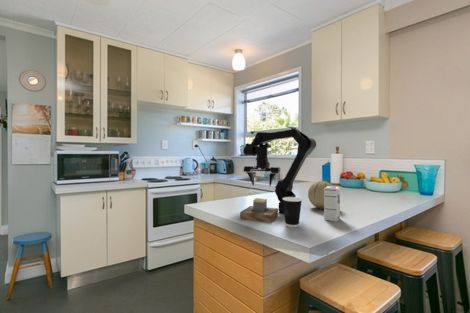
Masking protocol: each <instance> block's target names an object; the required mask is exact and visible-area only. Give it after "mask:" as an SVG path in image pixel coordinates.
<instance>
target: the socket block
mask: <svg viewBox="0 0 470 313" xmlns="http://www.w3.org/2000/svg"><path fill="white" fill-rule="evenodd" d="M239 213H240V214H239V215H240V217H239V219H240V220H248V221H257V222H266V223H272V222H273V221H274V219H276V218H277V217H278V215H279V207H277V208H275V207H268V206H267V212H265V213H263V212H254V211H253V205H249V206H248V207H246V208H244V209H243V210H241V211H240V212H239Z"/></svg>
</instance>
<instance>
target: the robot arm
mask: <svg viewBox="0 0 470 313" xmlns="http://www.w3.org/2000/svg"><path fill="white" fill-rule="evenodd" d="M290 138H291V139H292V138H293V140H294V141H295V142H296V143H297V144H298V146H297V154H296V156H295V157H294V159H293V161H292V163H291V165H290V167H289V168H288V171H287V172H286V174H285V176H284V179H279V180H278V181H277V183H276V185H275V186H274V188H275V189H274V193H275V195H276V197H277V200H278V201H279V202H278V214H284V215H285V213H284V203H283V198H285V197H296V196H297V195H296V194H295V193H294V192H293V187H294V185H293V184H294V181H295V179H296V178H297V175H298V173H299V172H300V170H301V168H302V166H303V164H304V163H305V160H306V159H307V158H308V157H309V155H311V154H312V152H313V151H314V150H315V148H317V142H316V140H315V139H314V138H313V137H309V136H308V135H306V134H305V133H303V132H301V131H300V130H299V129H297V128H291V129H286V130H281V131H274V132H263V131H261V132H256V134H255V137H254V139H253V140H252V141H251V143H245V146H244V147H243V150H242V151H243V152H242V153H243V155H244V156H245V157H255V156H256V158H255V160H256V165H255V166H253V165H247V166H244V167H243V172H244V173H245V174H246V175H248V178H249V179H250V182H251V185H252V186H254V185H255V177H254V176H255V172H270V173H269V187H271V186H272V184H273V182H274V178H275V176H276V175H278V174H279V173H281V168H280V166H271V167H270V165H271V163H270V162H269V158H268V148H272V146H271V145H270V143H271V142H273V141H276V140H284V139H290ZM296 198H297V197H296Z"/></svg>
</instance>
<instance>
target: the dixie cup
mask: <svg viewBox="0 0 470 313" xmlns="http://www.w3.org/2000/svg"><path fill="white" fill-rule="evenodd" d="M302 201H303V198H300V197H285V198H283V203H284V213H285V214H284V213H283V214H284V221H285V222H284V223H285V225H286V226H287V227H288V228H297V227H299V224H300V217H301V208H302Z"/></svg>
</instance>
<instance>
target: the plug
mask: <svg viewBox="0 0 470 313" xmlns="http://www.w3.org/2000/svg"><path fill="white" fill-rule="evenodd" d="M252 202H253V203H252V204H253V205H252V206H253V211H254V212H263V213H265V212H267V207H268V204H267V203H268V198H267V199H266V198H260V197H259V198H258V197H256V198H255V199H253V201H252Z"/></svg>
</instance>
